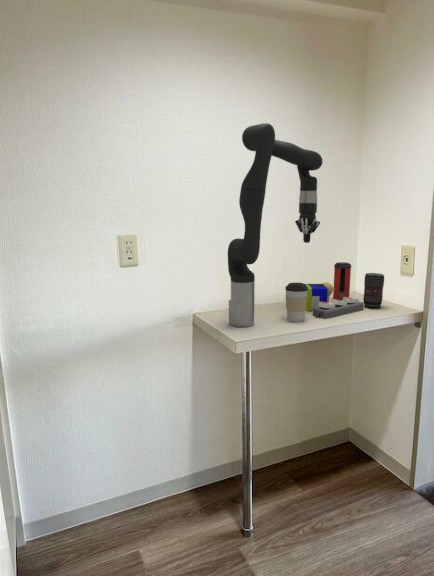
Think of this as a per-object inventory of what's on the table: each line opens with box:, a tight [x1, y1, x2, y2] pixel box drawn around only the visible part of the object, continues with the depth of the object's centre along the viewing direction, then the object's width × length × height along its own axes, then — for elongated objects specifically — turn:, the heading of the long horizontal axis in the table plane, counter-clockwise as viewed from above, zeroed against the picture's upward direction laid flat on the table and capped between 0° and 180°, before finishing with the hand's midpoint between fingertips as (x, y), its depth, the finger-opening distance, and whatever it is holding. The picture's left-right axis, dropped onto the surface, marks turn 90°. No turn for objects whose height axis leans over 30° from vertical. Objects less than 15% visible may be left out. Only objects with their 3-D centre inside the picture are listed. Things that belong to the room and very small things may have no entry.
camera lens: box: [363, 272, 385, 310], centre depth 187 cm, size 8×8×15 cm
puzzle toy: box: [305, 283, 328, 312], centre depth 187 cm, size 10×10×10 cm
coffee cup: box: [284, 282, 308, 323], centre depth 170 cm, size 9×9×15 cm
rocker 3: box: [343, 296, 360, 303], centre depth 184 cm, size 6×4×2 cm, turn 124°
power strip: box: [311, 301, 364, 320], centre depth 180 cm, size 26×7×3 cm, turn 124°
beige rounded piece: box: [321, 282, 334, 303], centre depth 193 cm, size 6×6×10 cm
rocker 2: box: [330, 297, 347, 306], centre depth 180 cm, size 6×4×2 cm, turn 124°
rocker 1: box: [318, 301, 335, 308], centre depth 176 cm, size 6×4×2 cm, turn 124°
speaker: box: [332, 261, 352, 301], centre depth 198 cm, size 8×8×18 cm
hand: (306, 242), depth 184 cm, fingers closed
